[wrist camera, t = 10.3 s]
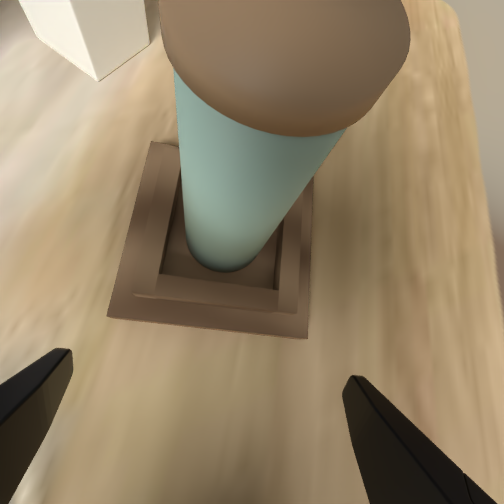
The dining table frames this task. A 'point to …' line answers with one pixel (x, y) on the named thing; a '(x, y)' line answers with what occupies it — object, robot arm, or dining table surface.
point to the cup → (268, 105)
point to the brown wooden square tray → (201, 278)
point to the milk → (90, 31)
